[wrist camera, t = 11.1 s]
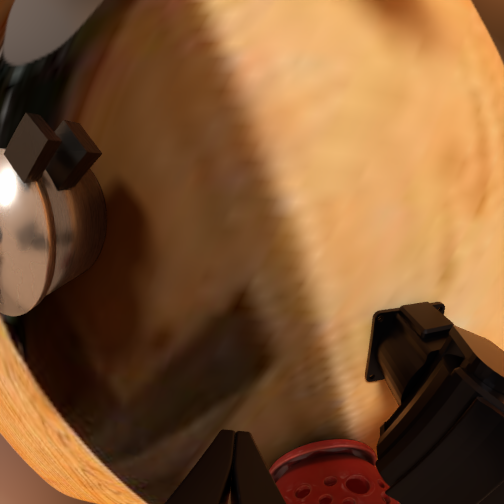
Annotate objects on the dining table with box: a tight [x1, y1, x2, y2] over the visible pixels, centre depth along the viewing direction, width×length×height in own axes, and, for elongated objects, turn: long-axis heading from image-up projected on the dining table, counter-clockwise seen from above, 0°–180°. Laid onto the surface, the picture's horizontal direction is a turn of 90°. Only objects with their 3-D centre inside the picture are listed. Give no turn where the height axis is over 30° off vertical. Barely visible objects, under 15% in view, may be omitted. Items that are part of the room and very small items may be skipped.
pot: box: [41, 120, 107, 296], centre depth 17 cm, size 23×10×6 cm, turn 130°
